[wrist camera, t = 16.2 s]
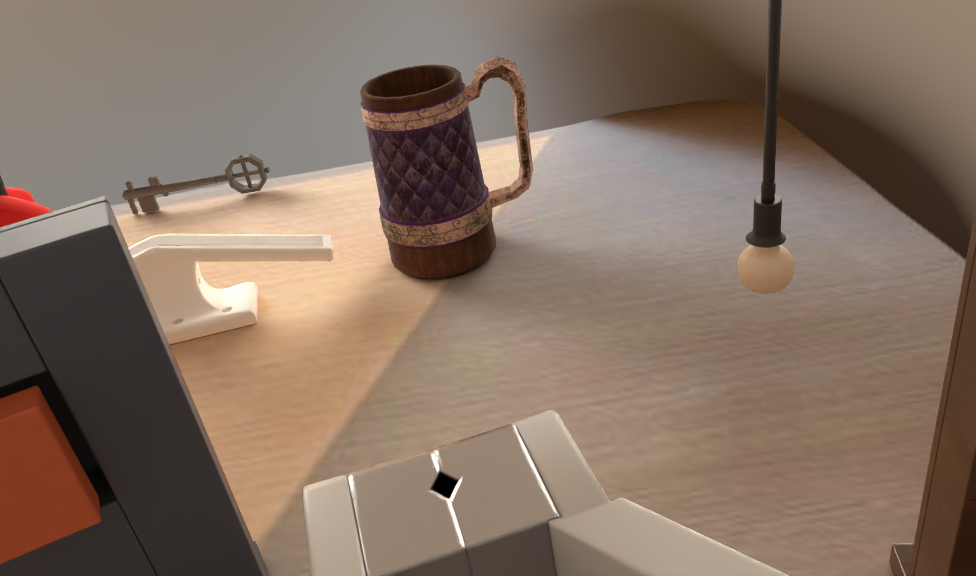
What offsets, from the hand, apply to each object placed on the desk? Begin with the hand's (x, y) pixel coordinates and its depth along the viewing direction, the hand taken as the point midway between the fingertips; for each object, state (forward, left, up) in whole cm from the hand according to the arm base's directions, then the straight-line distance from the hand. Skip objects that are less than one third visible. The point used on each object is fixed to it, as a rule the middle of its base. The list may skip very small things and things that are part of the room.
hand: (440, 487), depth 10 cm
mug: (+39, +8, -19) cm, 44 cm away
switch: (+8, +15, -10) cm, 20 cm away
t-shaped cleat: (+32, +25, -19) cm, 45 cm away
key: (+50, +32, -19) cm, 63 cm away
